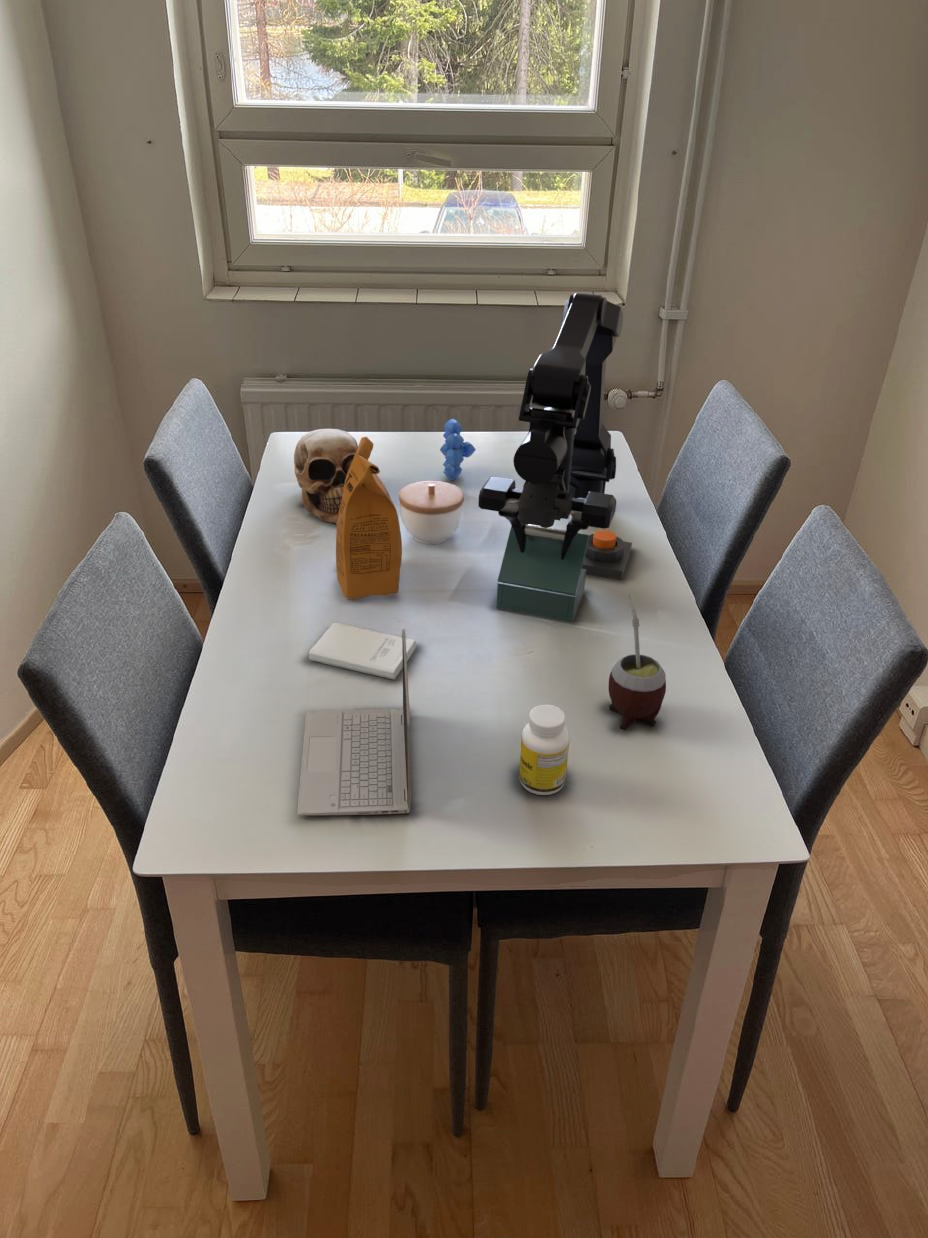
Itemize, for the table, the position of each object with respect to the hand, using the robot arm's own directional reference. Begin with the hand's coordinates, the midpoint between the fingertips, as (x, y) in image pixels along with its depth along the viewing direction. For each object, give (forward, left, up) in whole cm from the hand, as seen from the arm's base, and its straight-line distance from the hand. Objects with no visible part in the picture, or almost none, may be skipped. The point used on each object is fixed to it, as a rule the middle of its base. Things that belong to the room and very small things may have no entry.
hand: (542, 554), depth 137 cm
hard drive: (+29, -2, -9) cm, 30 cm away
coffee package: (+19, -19, -9) cm, 28 cm away
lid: (-1, -1, -1) cm, 1 cm away
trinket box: (+3, -27, -9) cm, 28 cm away
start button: (-17, -5, -5) cm, 18 cm away
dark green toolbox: (-1, -1, -9) cm, 9 cm away
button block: (-17, -5, -9) cm, 20 cm away
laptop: (+40, +17, -9) cm, 44 cm away
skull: (+11, -47, -9) cm, 49 cm away
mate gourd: (+6, +27, -9) cm, 29 cm away
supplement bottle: (+23, +31, -9) cm, 40 cm away
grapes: (-13, -44, -9) cm, 47 cm away
